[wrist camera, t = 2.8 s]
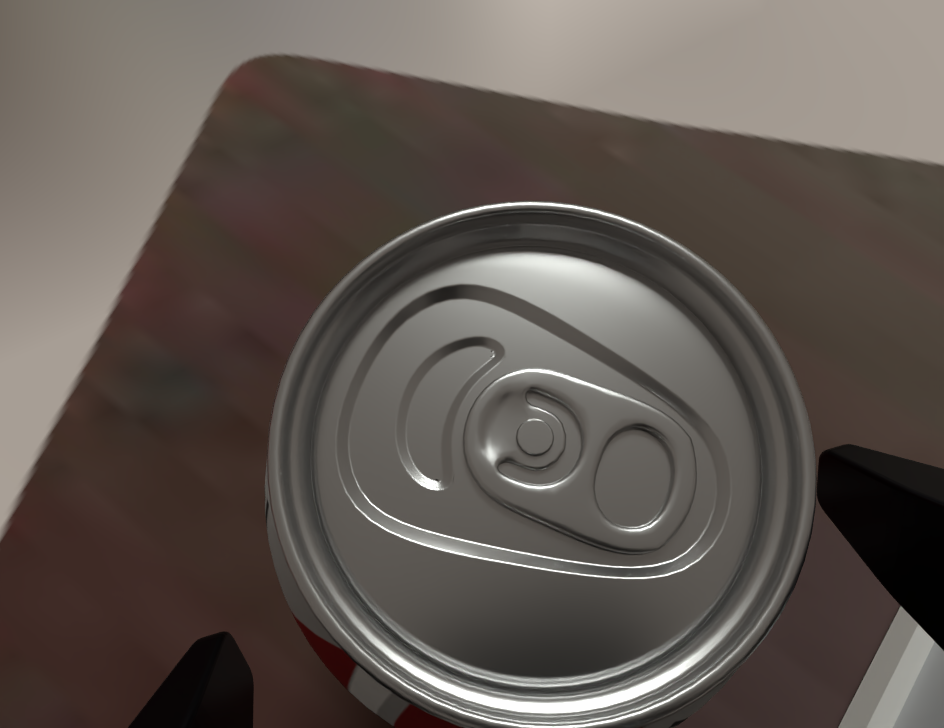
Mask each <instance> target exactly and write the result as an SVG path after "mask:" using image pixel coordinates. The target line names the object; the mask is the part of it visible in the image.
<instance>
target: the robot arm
mask: <svg viewBox="0 0 944 728" xmlns="http://www.w3.org/2000/svg"><path fill="white" fill-rule="evenodd" d="M817 498H818V501H819V504H820V506H821V507H822V509H823V510H824V512H825V513H826V514H827V516H828V517H829V518H830V519H831V521H832V522H833V523H834V524H835V526H836V527H837V528H838V530H839V531H840V532H841V533H842V535H843V536H844V537H845V538H846V540H847V541H848V542H849V543H850V545H851V546H852V547H853V548H854V550H855V551H856V552H857V554H858V555H859V556H860V557H861V559H862V560H863V561H864V562H865V564H866V565H867V566H868V567H869V569H870V570H871V571H872V572H873V574H874V575H875V576H876V578H877V579H878V580H879V581H880V582H881V584H882V585H883V586H884V587H885V588H886V590H887V591H888V592H889V593H890V594H891V595H892V597H893V598H894V599H895V600H896V601H897V602H898V603H899V604H900V605H901V606H902V608H903V609H904V610H905V611H906V612H907V613H908V614H909V615H910V616H911V617H912V618H913V619H914V620H915V621H916V622H917V623H918V624H919V626H920V627H921V628H922V629H923V630H924V631H925V632H926V633H927V634H928V635H929V636H930V637H931V638H932V639H933V640H934V641H935V642H936V643H937V644H938V645H939V647H940V648H941V649H942V650H943V651H944V469H942V468H938V467H934V466H931V465H927V464H923V463H919V462H916V461H912V460H908V459H904V458H901V457H897V456H893V455H889V454H886V453H882V452H878V451H874V450H871V449H867V448H863V447H859V446H856V445H851V444H846V445H841V446H838V447H834V448H831V449H828V450H825V451H824V452H822V454H821V455H820V457H819V465H818V480H817ZM253 693H254V685H253V677H252V673H251V670H250V667H249V665H248V664H247V662H246V660H245V658H244V656H243V654H242V653H241V651H240V649H239V647H238V645H237V644H236V642H235V640H234V638H233V637H232V635H231V634H230V633H228V632H219V633H216V634H213V635H210V636H206V637H203V638H200V639H198V640H197V641H196V642H194V644H193V645H192V646H191V647H190V648H189V650H188V651H187V652H186V653H185V655H184V656H183V657H182V659H181V660H180V661H179V662H178V664H177V665H176V666H175V668H174V669H173V670H172V671H171V673H170V674H169V675H168V677H167V678H166V679H165V680H164V682H163V683H162V684H161V686H160V687H159V688H158V689H157V691H156V692H155V693H154V695H153V696H152V697H151V698H150V700H149V701H148V702H147V704H146V705H145V706H144V707H143V709H142V710H141V711H140V713H139V714H138V715H137V716H136V718H135V719H134V720H133V721H132V723H131V724H130V725H129V727H128V728H253Z"/></svg>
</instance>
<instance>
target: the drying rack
mask: <svg viewBox="0 0 944 728" xmlns="http://www.w3.org/2000/svg"><path fill="white" fill-rule="evenodd" d="M838 728H944V651H943V650H942V649H941V648H940V647H939V645H938V644H937V643H936V642H935V641H934V640H933V639H932V638H931V637H930V636H929V635H928V634H927V633H926V632H925V631H924V630H923V629H922V628H921V627H920V626H919V624H918V623H917V622H916V621H915V620H914V619H913V618H912V617H911V616H910V615H909V614H908V613H907V612H906V611H905V610H904V609H903V608H902V606H901V607H900V608H899V610H898V612H897V614H896V616H895V618H894V620H893V622H892V624H891V626H890V628H889V630H888V632H887V634H886V636H885V638H884V640H883V642H882V643H881V645H880V647H879V649H878V651H877V653H876V655H875V657H874V659H873V661H872V663H871V665H870V667H869V669H868V671H867V673H866V675H865V677H864V678H863V680H862V682H861V684H860V686H859V688H858V690H857V692H856V694H855V696H854V698H853V700H852V702H851V704H850V706H849V708H848V710H847V711H846V713H845V715H844V717H843V719H842V721H841V723H840V725H839V727H838Z"/></svg>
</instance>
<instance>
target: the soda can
mask: <svg viewBox="0 0 944 728" xmlns="http://www.w3.org/2000/svg"><path fill="white" fill-rule="evenodd" d="M815 505H816V463H815V450H814V444H813V438H812V432H811V426H810V422H809V418H808V414H807V411H806V407H805V403H804V400H803V397H802V394H801V392H800V389H799V386H798V383H797V381H796V378H795V375H794V373H793V371H792V369H791V367H790V365H789V363H788V361H787V359H786V357H785V355H784V352H783V351H782V349H781V347H780V346H779V344H778V342H777V341H776V339H775V337H774V336H773V334H772V332H771V331H770V329H769V328H768V327H767V325H766V324H765V322H764V321H763V320H762V318H761V317H760V315H759V314H758V313H757V311H756V310H755V309H754V308H753V307H752V305H751V304H750V303H749V302H748V301H747V300H746V298H745V297H744V296H743V295H742V294H741V293H740V292H739V291H738V290H737V289H736V288H735V287H734V286H733V285H732V284H731V283H730V282H729V281H728V280H727V279H726V278H725V277H724V276H723V275H722V274H721V273H720V272H718V271H717V270H716V269H715V268H714V267H712V266H711V265H710V264H709V263H707V262H706V261H705V260H704V259H702V258H701V257H700V256H698V255H697V254H695V253H694V252H692V251H691V250H689V249H688V248H687V247H685V246H684V245H682V244H680V243H678V242H677V241H675V240H673V239H671V238H670V237H668V236H666V235H665V234H663V233H661V232H659V231H656V230H654V229H652V228H650V227H648V226H646V225H644V224H642V223H639V222H636V221H634V220H631V219H628V218H626V217H623V216H620V215H617V214H614V213H610V212H606V211H603V210H599V209H595V208H590V207H585V206H580V205H575V204H567V203H559V202H546V201H517V202H503V203H495V204H488V205H481V206H477V207H472V208H468V209H463V210H459V211H456V212H453V213H450V214H446V215H443V216H440V217H437V218H435V219H432V220H430V221H427V222H425V223H422V224H420V225H418V226H416V227H414V228H412V229H410V230H408V231H406V232H404V233H402V234H400V235H398V236H396V237H395V238H393V239H392V240H390V241H388V242H387V243H385V244H384V245H382V246H380V247H379V248H377V249H376V250H375V251H374V252H372V253H371V254H370V255H368V256H367V257H366V258H364V259H363V260H362V261H360V262H359V263H358V264H357V265H356V266H355V267H354V268H353V269H351V270H350V271H349V272H348V273H347V274H346V275H345V276H344V277H343V278H342V279H341V280H340V281H339V282H338V283H337V284H336V285H335V286H334V287H333V289H332V290H331V291H330V292H329V293H328V294H327V295H326V297H325V298H324V299H323V300H322V302H321V303H320V304H319V306H318V307H317V308H316V310H315V311H314V312H313V314H312V315H311V317H310V318H309V320H308V322H307V323H306V325H305V327H304V328H303V330H302V331H301V333H300V335H299V337H298V339H297V341H296V343H295V345H294V347H293V349H292V351H291V353H290V355H289V357H288V360H287V362H286V365H285V367H284V370H283V373H282V375H281V378H280V381H279V385H278V388H277V392H276V396H275V399H274V403H273V408H272V414H271V420H270V426H269V435H268V449H267V464H266V478H265V515H266V523H267V532H268V540H269V545H270V549H271V553H272V558H273V562H274V567H275V570H276V573H277V576H278V579H279V582H280V585H281V588H282V591H283V594H284V596H285V598H286V600H287V602H288V605H289V607H290V609H291V611H292V613H293V616H294V618H295V620H296V622H297V623H298V625H299V627H300V628H301V630H302V632H303V634H304V635H305V637H306V639H307V640H308V642H309V644H310V645H311V647H312V648H313V649H314V651H315V652H316V653H317V655H318V656H319V658H320V659H321V660H322V662H323V663H324V664H325V666H326V667H327V668H328V669H329V670H330V672H331V673H332V674H333V675H334V676H335V677H336V678H337V679H338V680H339V681H340V683H341V684H342V685H343V686H344V687H345V688H346V689H347V690H348V691H349V692H350V693H351V694H353V695H354V696H355V697H356V698H357V699H358V700H359V701H361V702H362V703H363V704H364V705H365V706H366V707H367V708H368V709H370V710H371V711H373V712H374V713H375V714H377V715H378V716H380V717H381V718H382V719H384V720H385V721H387V722H388V723H389V724H391V725H392V726H394V727H396V728H674V727H676V726H677V725H679V724H680V723H681V722H683V721H684V720H685V719H687V718H688V717H689V716H691V715H692V714H693V713H695V712H696V711H697V710H699V709H700V708H701V707H702V706H703V705H704V704H706V703H707V702H708V701H709V700H710V699H711V698H712V697H713V696H714V695H715V694H716V693H717V692H718V691H719V690H720V689H721V688H722V687H723V686H724V685H725V684H726V682H727V681H728V680H729V679H730V678H731V677H732V675H733V674H734V673H735V672H736V671H737V669H738V668H739V667H740V666H741V665H742V664H743V663H744V662H745V661H746V660H747V659H748V658H749V657H750V655H751V654H752V653H753V652H754V651H755V649H756V648H757V647H758V646H759V645H760V643H761V642H762V641H763V640H764V639H765V637H766V636H767V634H768V633H769V631H770V630H771V628H772V627H773V625H774V624H775V622H776V621H777V619H778V618H779V616H780V615H781V613H782V611H783V609H784V607H785V605H786V603H787V601H788V599H789V597H790V596H791V594H792V592H793V590H794V588H795V585H796V582H797V580H798V577H799V574H800V572H801V569H802V566H803V564H804V561H805V557H806V553H807V549H808V546H809V542H810V538H811V534H812V527H813V520H814V513H815Z"/></svg>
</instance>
